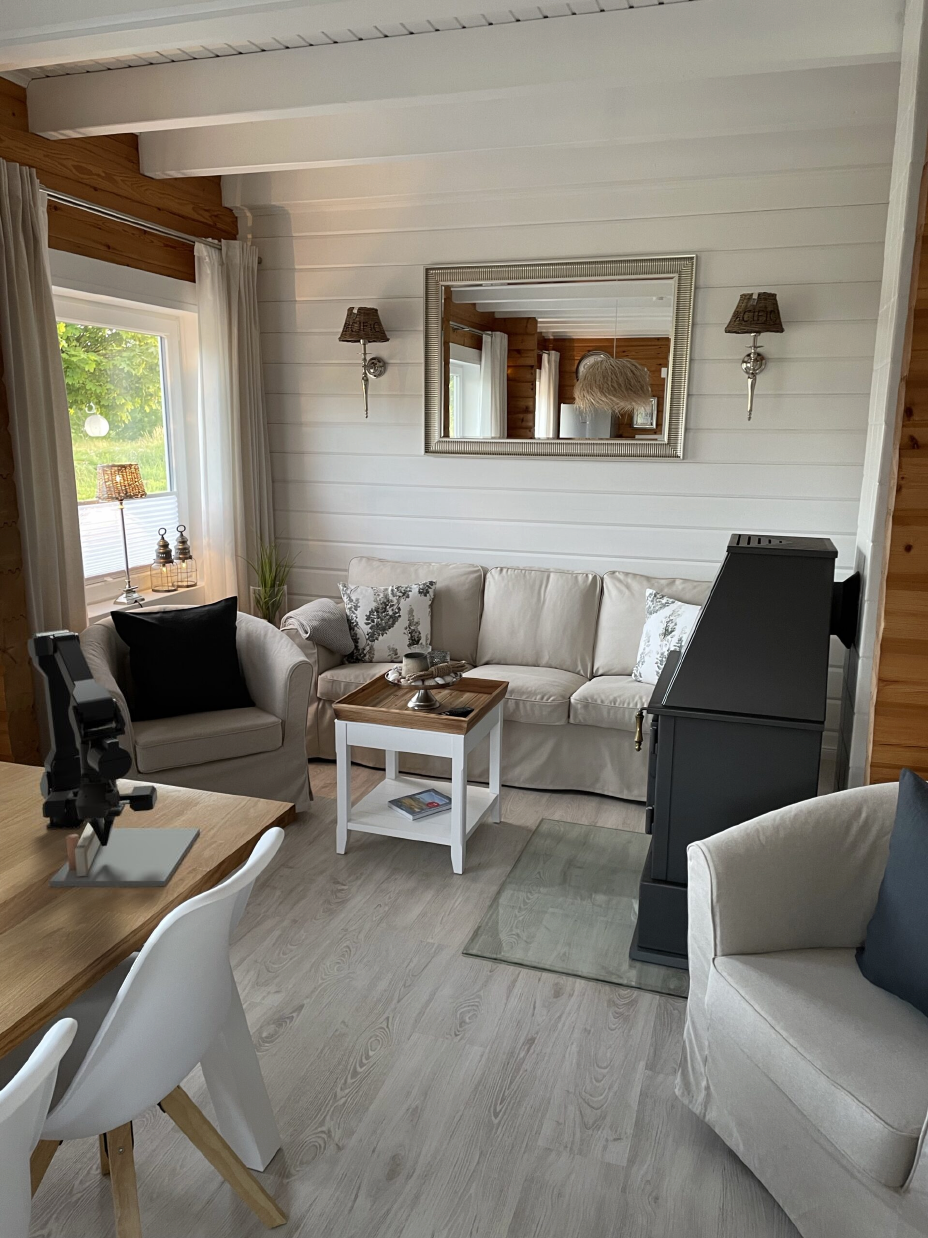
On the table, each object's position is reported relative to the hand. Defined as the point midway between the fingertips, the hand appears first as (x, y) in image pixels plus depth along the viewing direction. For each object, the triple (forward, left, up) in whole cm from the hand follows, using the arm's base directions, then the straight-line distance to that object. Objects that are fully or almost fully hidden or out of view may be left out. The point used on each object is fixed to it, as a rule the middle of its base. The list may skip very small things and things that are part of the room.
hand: (104, 845), depth 166 cm
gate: (-3, 0, -2) cm, 4 cm away
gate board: (+3, +3, -4) cm, 6 cm away
